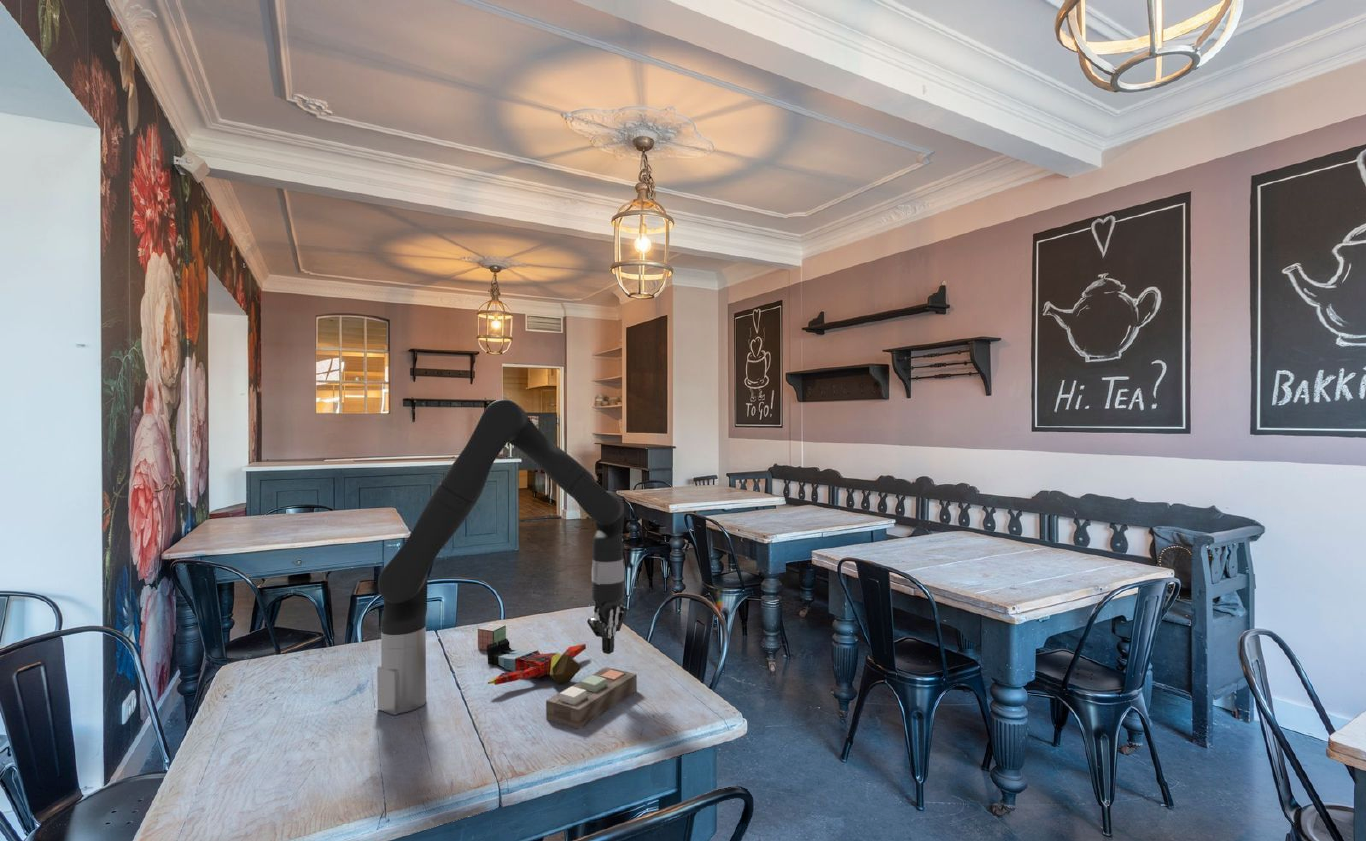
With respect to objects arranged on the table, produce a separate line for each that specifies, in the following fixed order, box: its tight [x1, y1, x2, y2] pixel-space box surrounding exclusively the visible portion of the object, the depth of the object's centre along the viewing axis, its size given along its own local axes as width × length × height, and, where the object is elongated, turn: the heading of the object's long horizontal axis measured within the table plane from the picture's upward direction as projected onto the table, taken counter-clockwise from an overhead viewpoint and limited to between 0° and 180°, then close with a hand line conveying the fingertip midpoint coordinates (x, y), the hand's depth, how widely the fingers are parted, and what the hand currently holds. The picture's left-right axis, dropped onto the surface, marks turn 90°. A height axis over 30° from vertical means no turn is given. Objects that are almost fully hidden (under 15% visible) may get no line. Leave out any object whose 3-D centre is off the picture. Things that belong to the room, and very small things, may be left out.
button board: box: [545, 666, 638, 730], centre depth 141 cm, size 21×9×4 cm, turn 150°
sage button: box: [580, 674, 606, 692], centre depth 141 cm, size 4×4×3 cm
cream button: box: [559, 685, 586, 705], centre depth 135 cm, size 4×4×3 cm
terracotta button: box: [600, 670, 624, 681], centre depth 147 cm, size 4×4×3 cm
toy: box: [486, 637, 587, 686], centre depth 160 cm, size 31×8×30 cm
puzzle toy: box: [477, 623, 507, 651], centre depth 179 cm, size 6×6×6 cm
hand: (608, 652), depth 146 cm, fingers closed
